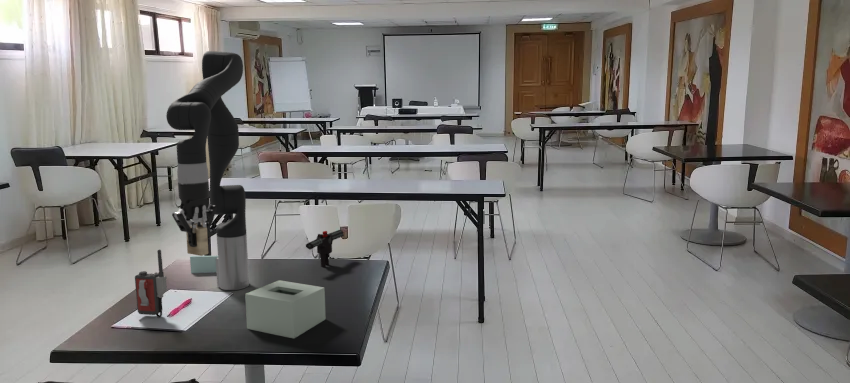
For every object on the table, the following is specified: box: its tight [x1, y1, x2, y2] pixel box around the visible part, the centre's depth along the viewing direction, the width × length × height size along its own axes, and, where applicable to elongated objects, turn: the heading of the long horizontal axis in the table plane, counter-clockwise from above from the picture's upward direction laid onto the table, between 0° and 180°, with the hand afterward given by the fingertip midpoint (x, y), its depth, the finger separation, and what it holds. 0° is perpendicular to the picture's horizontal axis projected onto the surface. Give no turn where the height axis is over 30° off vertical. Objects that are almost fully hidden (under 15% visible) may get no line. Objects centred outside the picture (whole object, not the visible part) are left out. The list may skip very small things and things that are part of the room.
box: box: [244, 279, 326, 339], centre depth 174 cm, size 16×14×10 cm
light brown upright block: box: [185, 226, 209, 256], centre depth 166 cm, size 5×2×7 cm, turn 63°
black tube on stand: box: [305, 229, 344, 268], centre depth 225 cm, size 5×20×15 cm, turn 155°
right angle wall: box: [189, 255, 218, 274], centre depth 227 cm, size 12×12×8 cm
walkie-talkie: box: [134, 249, 168, 318], centre depth 180 cm, size 9×4×20 cm, turn 79°
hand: (197, 245), depth 166 cm, fingers closed on light brown upright block, 2 cm apart
